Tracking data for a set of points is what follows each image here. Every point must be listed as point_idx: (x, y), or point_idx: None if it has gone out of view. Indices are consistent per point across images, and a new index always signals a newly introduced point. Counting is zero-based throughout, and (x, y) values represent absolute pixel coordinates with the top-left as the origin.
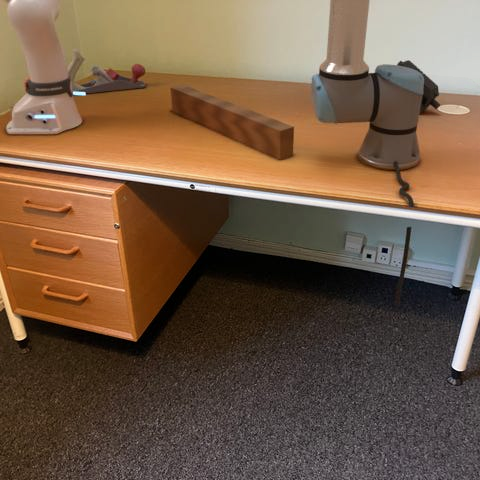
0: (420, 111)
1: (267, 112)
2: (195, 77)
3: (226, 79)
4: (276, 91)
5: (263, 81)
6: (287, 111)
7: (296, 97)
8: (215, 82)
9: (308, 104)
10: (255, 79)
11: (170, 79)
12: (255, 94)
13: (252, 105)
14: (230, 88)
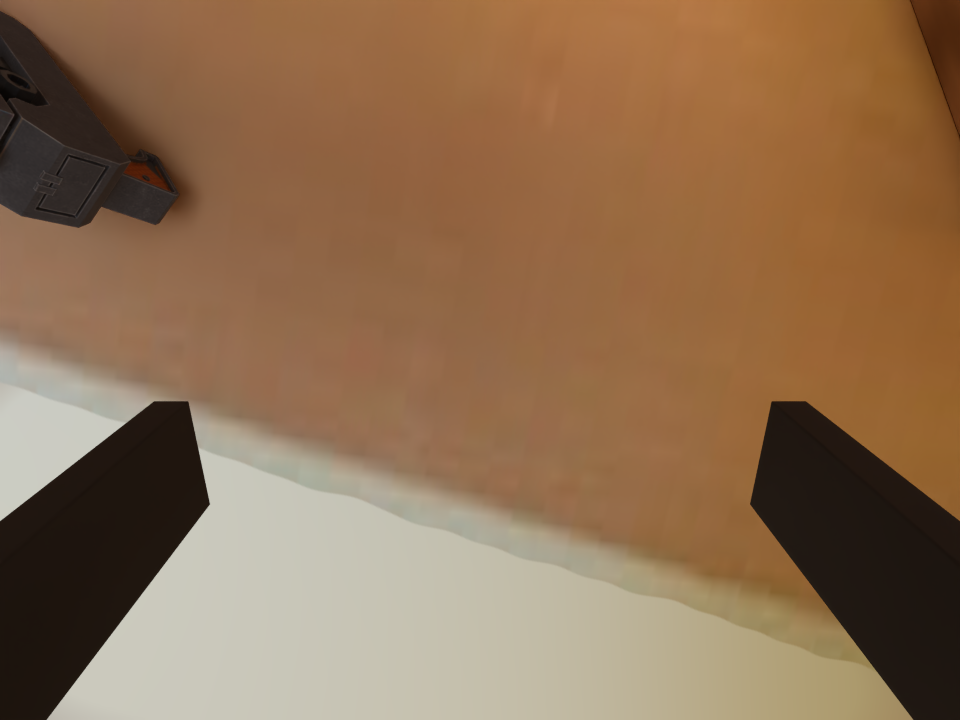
0: (3, 14)
1: (671, 139)
2: None
3: (735, 569)
4: (577, 409)
5: (603, 532)
6: (585, 142)
7: (513, 325)
8: None
9: (480, 227)
10: (628, 558)
11: None
12: (667, 381)
13: (711, 242)
14: (747, 465)
